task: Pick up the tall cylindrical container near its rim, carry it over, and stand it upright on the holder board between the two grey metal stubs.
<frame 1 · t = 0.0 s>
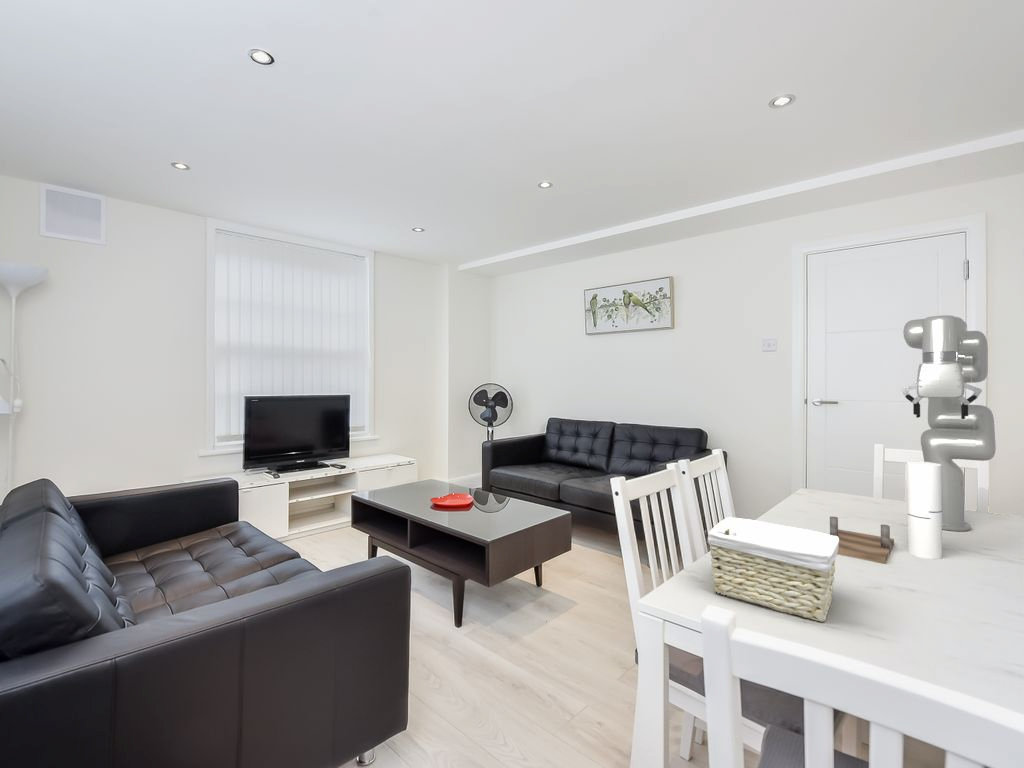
hand: (940, 418, 137), 37 cm above the table, tool pointing down, fingers open, 9 cm apart
storage basket: (772, 598, 106), on the table
cylindrical container: (924, 555, 130), on the table
holder board: (859, 547, 136), on the table
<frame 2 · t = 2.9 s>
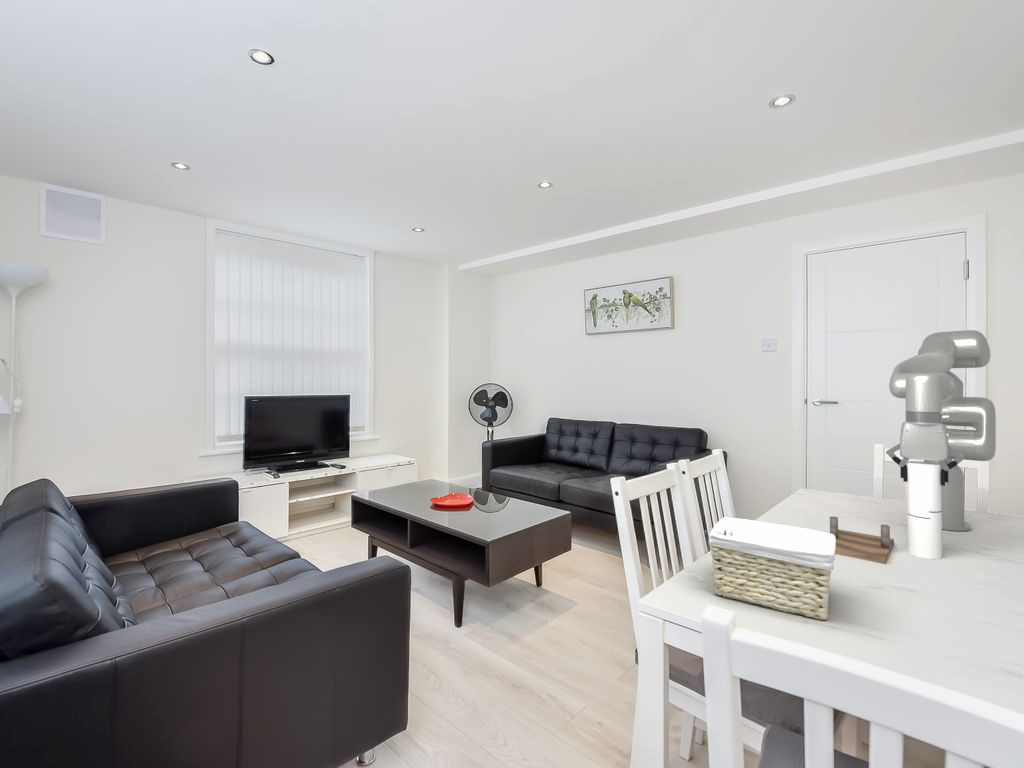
hand: (923, 482, 130), 20 cm above the table, tool pointing down, fingers closed on cylindrical container, 7 cm apart
cylindrical container: (924, 555, 130), on the table, touching gripper
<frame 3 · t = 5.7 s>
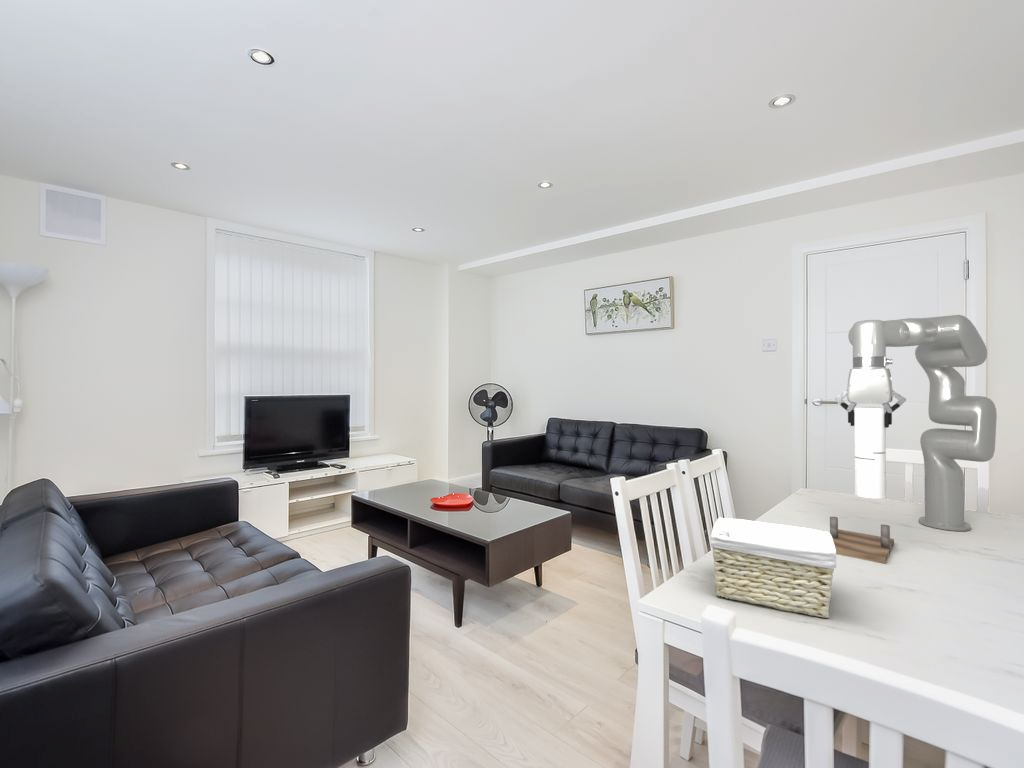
hand: (869, 425, 135), 35 cm above the table, tool pointing down, fingers closed on cylindrical container, 7 cm apart
cylindrical container: (870, 496, 135), point 15 cm above the table, touching gripper
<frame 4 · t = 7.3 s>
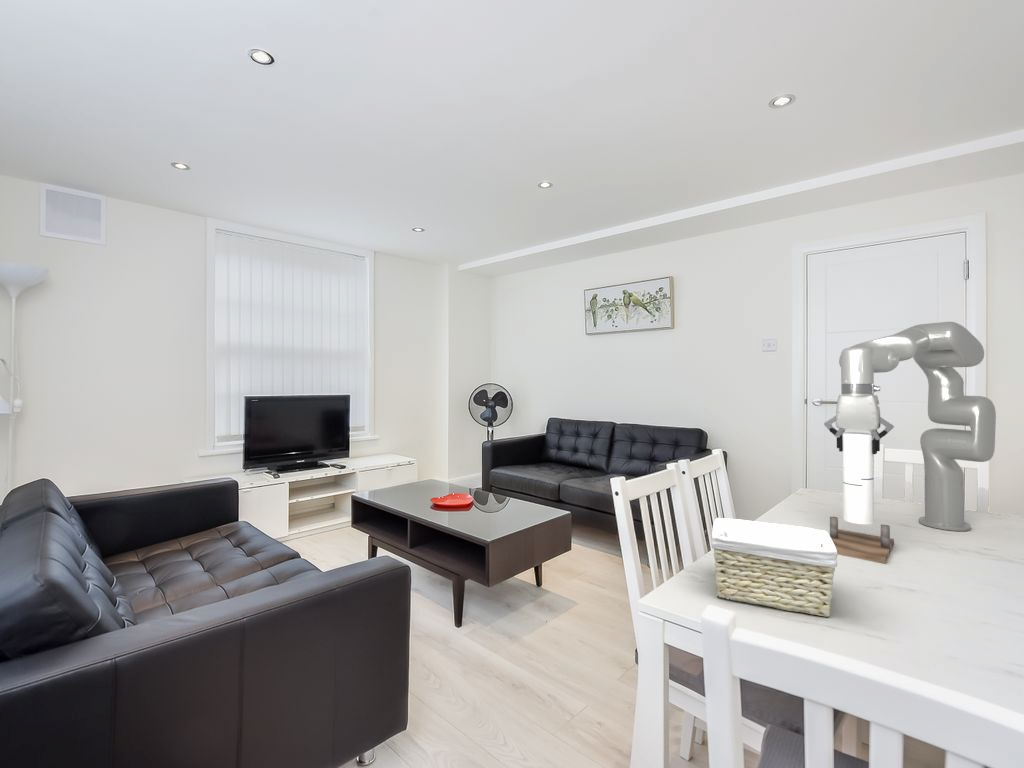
hand: (857, 451, 136), 28 cm above the table, tool pointing down, fingers closed on cylindrical container, 7 cm apart
cylindrical container: (858, 521, 136), point 8 cm above the table, touching gripper
when the fingers open (23 cm above the table, at t = 8.8 s): cylindrical container drops 1 cm, resting on holder board.
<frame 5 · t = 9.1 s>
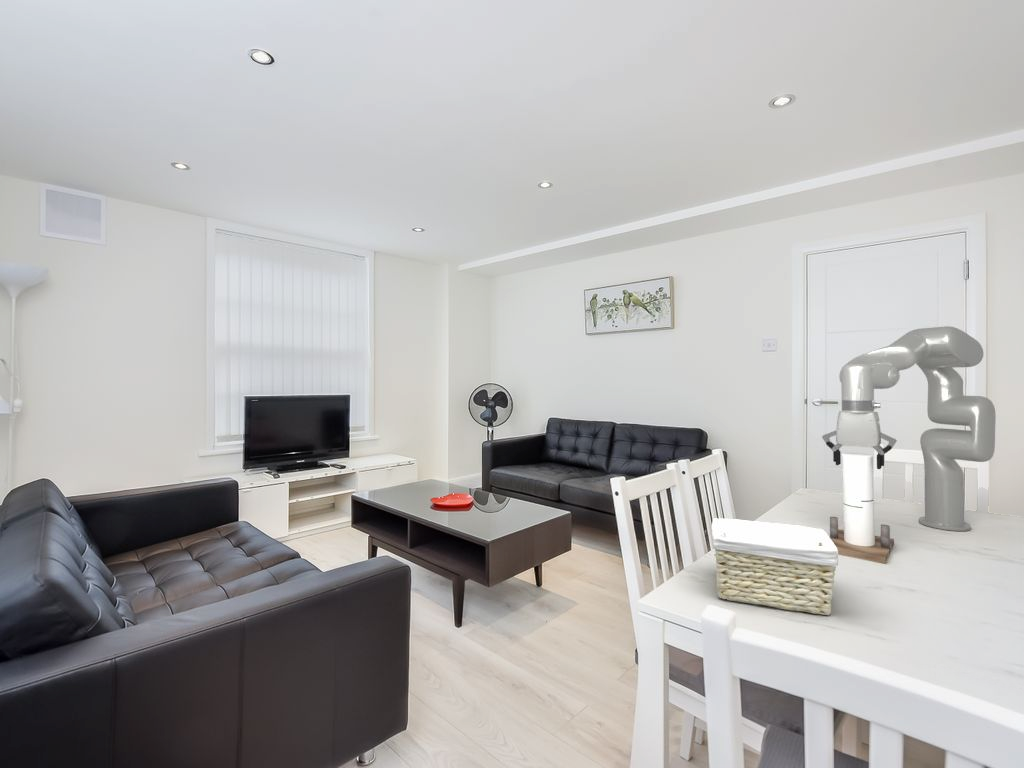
hand: (858, 466, 136), 23 cm above the table, tool pointing down, fingers open, 9 cm apart
cylindrical container: (859, 542, 136), point 1 cm above the table, touching holder board
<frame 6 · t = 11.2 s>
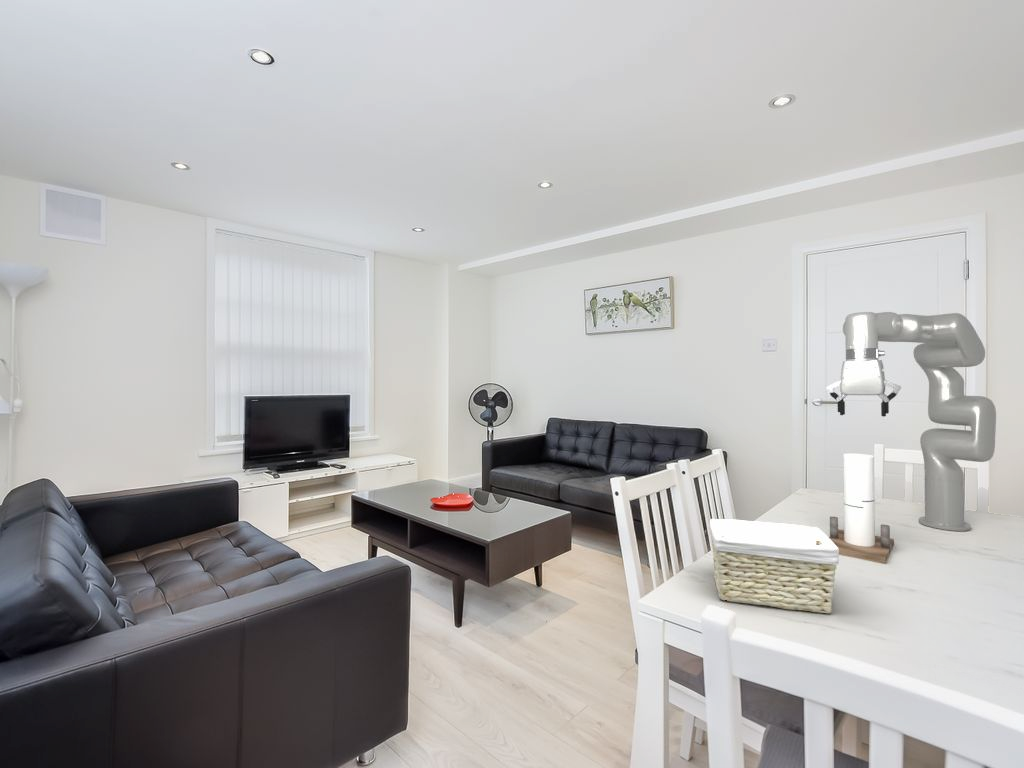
hand: (862, 415, 136), 38 cm above the table, tool pointing down, fingers open, 9 cm apart
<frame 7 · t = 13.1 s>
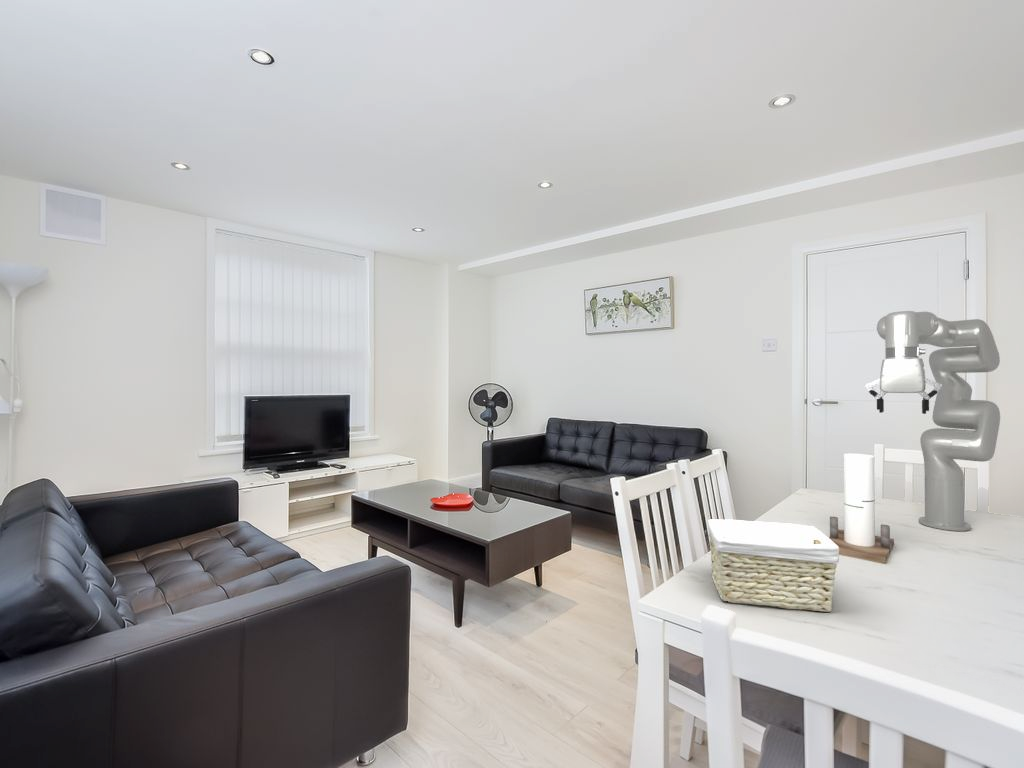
hand: (902, 412, 138), 38 cm above the table, tool pointing down, fingers open, 9 cm apart
at the end: cylindrical container inside the target area on the holder board (0.2 cm from its centre), point 1.3 cm above the holder board's base; cylindrical container tilted 0°; the gripper is holding nothing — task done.
